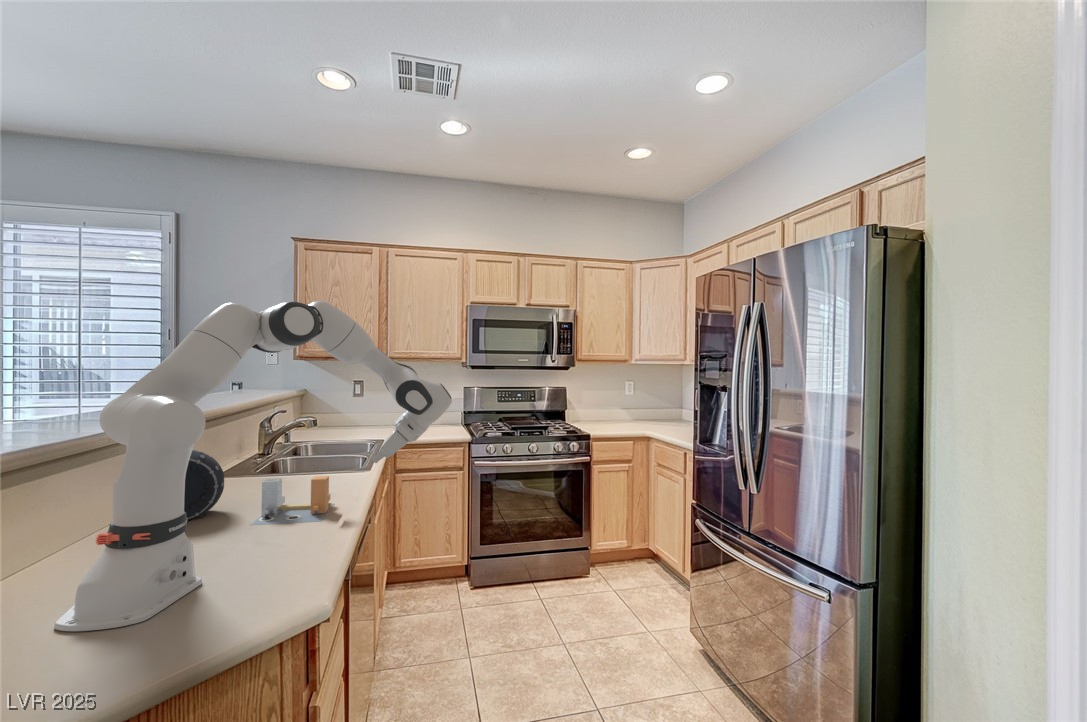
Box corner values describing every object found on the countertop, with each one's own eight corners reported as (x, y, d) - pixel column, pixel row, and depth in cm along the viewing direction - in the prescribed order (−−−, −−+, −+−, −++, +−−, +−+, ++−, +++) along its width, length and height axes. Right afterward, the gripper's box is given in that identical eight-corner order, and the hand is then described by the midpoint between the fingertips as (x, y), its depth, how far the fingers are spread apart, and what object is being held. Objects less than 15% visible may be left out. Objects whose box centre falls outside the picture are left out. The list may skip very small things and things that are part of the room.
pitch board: (321, 525, 133) (321, 517, 133) (250, 529, 129) (250, 521, 129) (334, 507, 149) (335, 500, 149) (272, 510, 146) (272, 503, 146)
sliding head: (322, 516, 136) (323, 481, 136) (307, 516, 135) (308, 481, 136) (332, 504, 148) (332, 472, 148) (318, 505, 147) (318, 472, 147)
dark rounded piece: (221, 521, 135) (223, 451, 135) (130, 532, 125) (132, 456, 125) (225, 510, 144) (226, 445, 144) (140, 520, 134) (142, 450, 135)
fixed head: (273, 519, 134) (274, 484, 134) (257, 520, 133) (258, 484, 133) (286, 507, 145) (287, 474, 145) (272, 507, 144) (272, 475, 144)
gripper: (404, 416, 156) (372, 446, 153) (398, 424, 136) (361, 459, 133) (417, 429, 157) (386, 460, 154) (414, 439, 137) (378, 474, 134)
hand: (375, 459), depth 144 cm, fingers open, 3 cm apart
